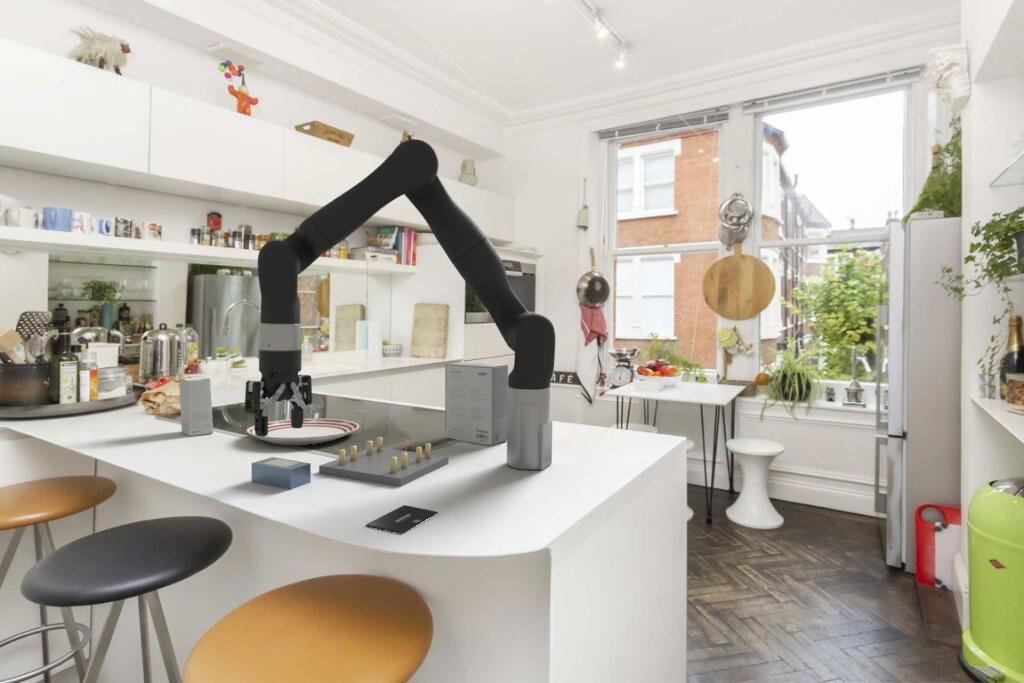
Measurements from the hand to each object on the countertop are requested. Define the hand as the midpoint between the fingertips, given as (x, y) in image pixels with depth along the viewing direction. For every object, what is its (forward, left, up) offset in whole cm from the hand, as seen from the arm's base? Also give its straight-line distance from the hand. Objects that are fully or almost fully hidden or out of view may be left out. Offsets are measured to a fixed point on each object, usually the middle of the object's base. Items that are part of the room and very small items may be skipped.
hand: (280, 431), depth 106 cm
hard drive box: (-17, -49, -10) cm, 53 cm away
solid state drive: (-32, +6, -11) cm, 34 cm away
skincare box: (+53, -22, -10) cm, 58 cm away
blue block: (0, 0, -10) cm, 10 cm away
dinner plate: (+24, -31, -10) cm, 41 cm away
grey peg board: (-12, -17, -10) cm, 23 cm away
